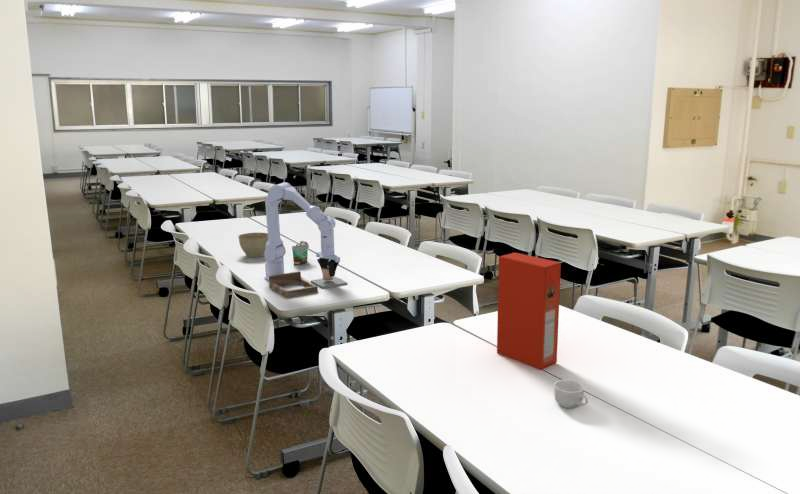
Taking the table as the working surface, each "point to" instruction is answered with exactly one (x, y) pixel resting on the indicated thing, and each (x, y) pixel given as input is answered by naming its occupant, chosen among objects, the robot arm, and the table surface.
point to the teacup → (569, 393)
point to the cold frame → (291, 278)
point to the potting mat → (328, 282)
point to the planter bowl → (253, 243)
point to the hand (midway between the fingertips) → (328, 275)
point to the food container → (300, 253)
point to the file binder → (528, 309)
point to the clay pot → (326, 274)
